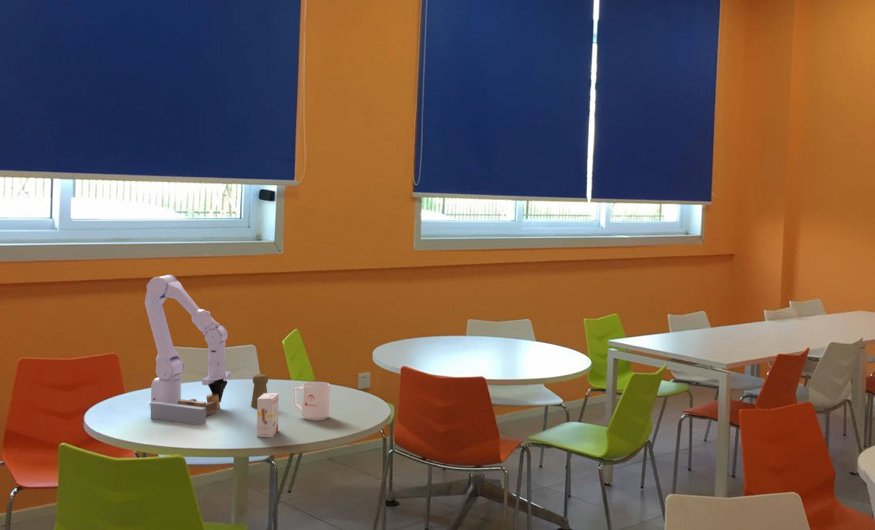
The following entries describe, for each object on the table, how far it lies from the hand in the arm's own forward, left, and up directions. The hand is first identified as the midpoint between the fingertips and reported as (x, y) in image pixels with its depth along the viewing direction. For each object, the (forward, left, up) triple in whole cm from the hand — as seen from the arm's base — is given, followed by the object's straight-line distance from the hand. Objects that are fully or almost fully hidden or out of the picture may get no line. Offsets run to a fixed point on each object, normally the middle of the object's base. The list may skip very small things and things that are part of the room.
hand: (217, 402), depth 304 cm
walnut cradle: (-1, -11, -2) cm, 11 cm away
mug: (+34, +2, -2) cm, 35 cm away
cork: (+11, +8, -2) cm, 14 cm away
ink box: (+32, -22, -2) cm, 39 cm away
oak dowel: (0, -2, -2) cm, 2 cm away
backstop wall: (-1, -21, -2) cm, 21 cm away
